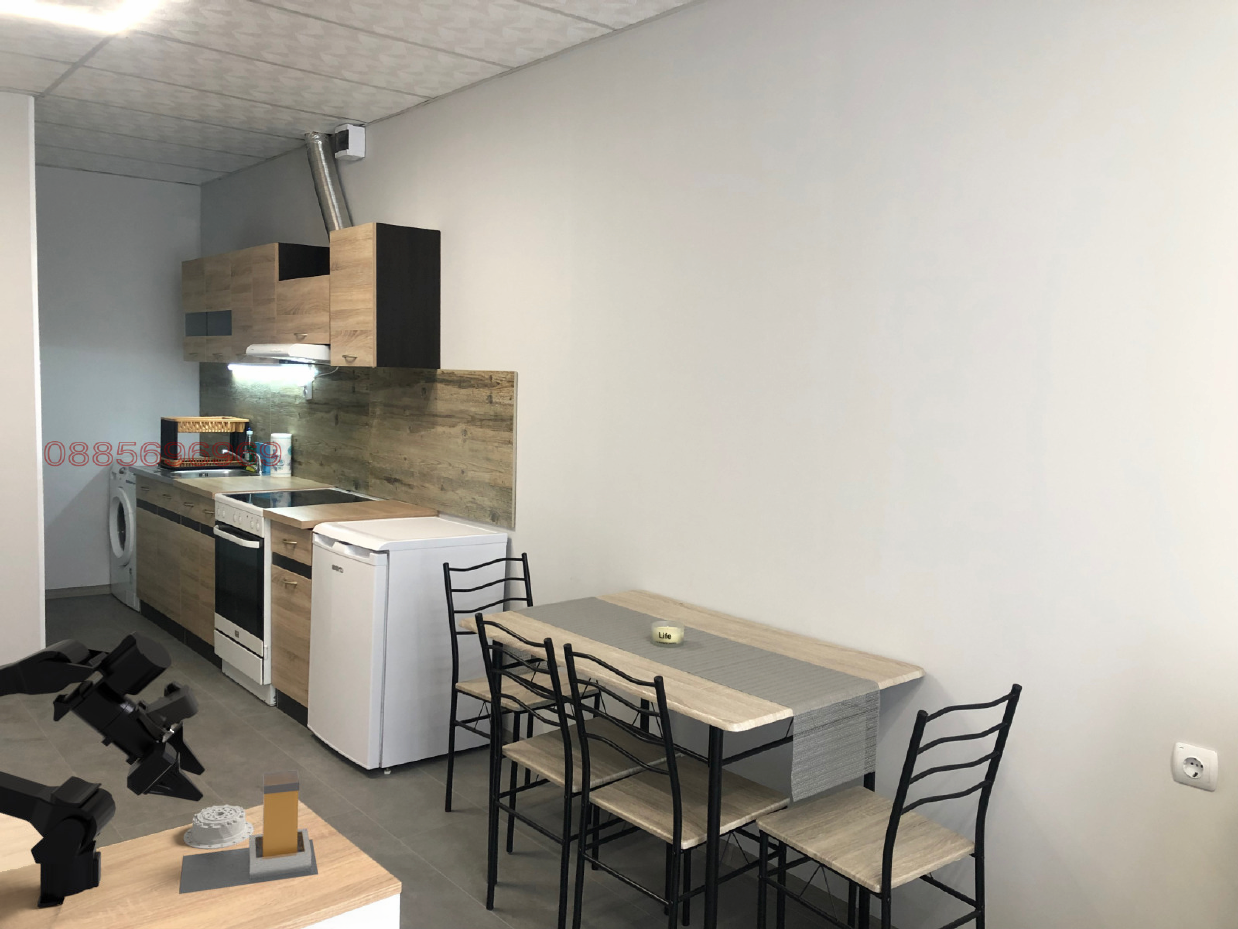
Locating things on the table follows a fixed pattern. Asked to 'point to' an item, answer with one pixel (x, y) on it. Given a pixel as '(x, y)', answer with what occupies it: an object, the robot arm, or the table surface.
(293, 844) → the capped orange pillar
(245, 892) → the table surface
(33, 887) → the table surface
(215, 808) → the mechanical component
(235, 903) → the table surface
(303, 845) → the grey socket base plate
